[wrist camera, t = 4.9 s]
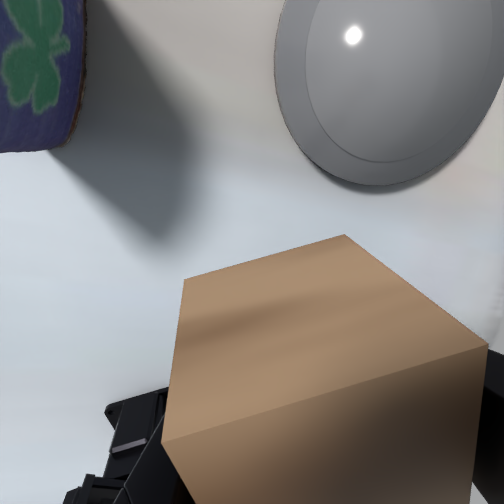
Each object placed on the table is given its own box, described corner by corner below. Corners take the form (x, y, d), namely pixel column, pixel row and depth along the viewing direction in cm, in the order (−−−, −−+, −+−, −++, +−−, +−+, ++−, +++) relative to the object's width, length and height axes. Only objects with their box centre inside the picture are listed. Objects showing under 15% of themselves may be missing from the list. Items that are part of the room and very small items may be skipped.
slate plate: (487, 154, 21) (503, 155, 20) (296, 206, 20) (301, 210, 19) (511, -126, 15) (534, -145, 14) (248, -66, 14) (251, -82, 13)
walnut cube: (358, 356, 11) (467, 518, 6) (229, 395, 11) (245, 590, 6) (344, 234, 9) (488, 344, 4) (184, 279, 9) (161, 442, 4)
